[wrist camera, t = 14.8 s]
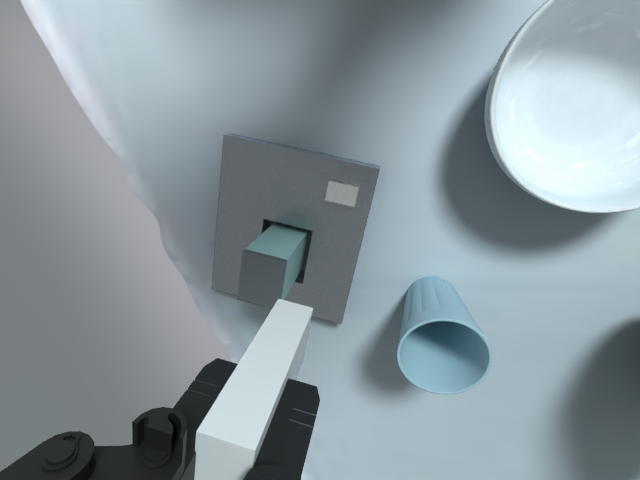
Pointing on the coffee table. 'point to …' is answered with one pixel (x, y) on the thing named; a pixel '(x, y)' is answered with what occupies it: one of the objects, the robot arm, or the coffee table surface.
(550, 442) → the coffee table surface
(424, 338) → the cup
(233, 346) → the coffee table surface
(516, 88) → the cereal bowl
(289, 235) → the plug
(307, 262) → the socket plate
